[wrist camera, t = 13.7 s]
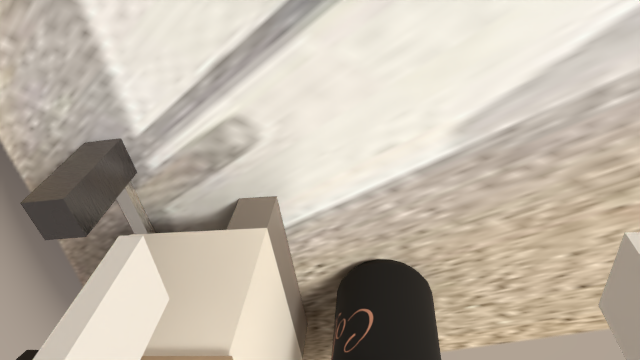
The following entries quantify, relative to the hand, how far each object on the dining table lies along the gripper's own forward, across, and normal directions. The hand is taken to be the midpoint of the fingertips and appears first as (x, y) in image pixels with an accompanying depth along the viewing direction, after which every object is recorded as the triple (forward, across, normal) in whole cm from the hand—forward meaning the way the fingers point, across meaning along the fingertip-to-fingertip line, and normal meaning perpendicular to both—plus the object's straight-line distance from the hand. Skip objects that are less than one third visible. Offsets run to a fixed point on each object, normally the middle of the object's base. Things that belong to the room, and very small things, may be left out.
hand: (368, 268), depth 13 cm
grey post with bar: (+27, -26, -20) cm, 43 cm away
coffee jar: (+28, 0, -31) cm, 41 cm away
